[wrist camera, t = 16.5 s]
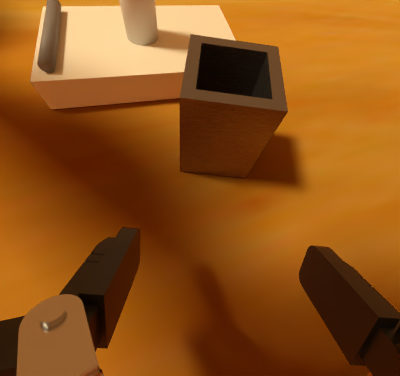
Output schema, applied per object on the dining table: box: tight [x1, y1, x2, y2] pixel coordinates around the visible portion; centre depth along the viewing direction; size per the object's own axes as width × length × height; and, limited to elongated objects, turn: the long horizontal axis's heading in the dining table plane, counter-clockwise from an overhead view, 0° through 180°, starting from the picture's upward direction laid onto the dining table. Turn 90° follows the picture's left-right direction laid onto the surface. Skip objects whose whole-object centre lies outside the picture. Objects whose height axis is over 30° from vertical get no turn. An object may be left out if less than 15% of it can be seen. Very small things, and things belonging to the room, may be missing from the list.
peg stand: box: [30, 0, 236, 109], centre depth 19 cm, size 20×12×10 cm, turn 103°
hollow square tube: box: [180, 34, 288, 178], centre depth 16 cm, size 6×6×8 cm
